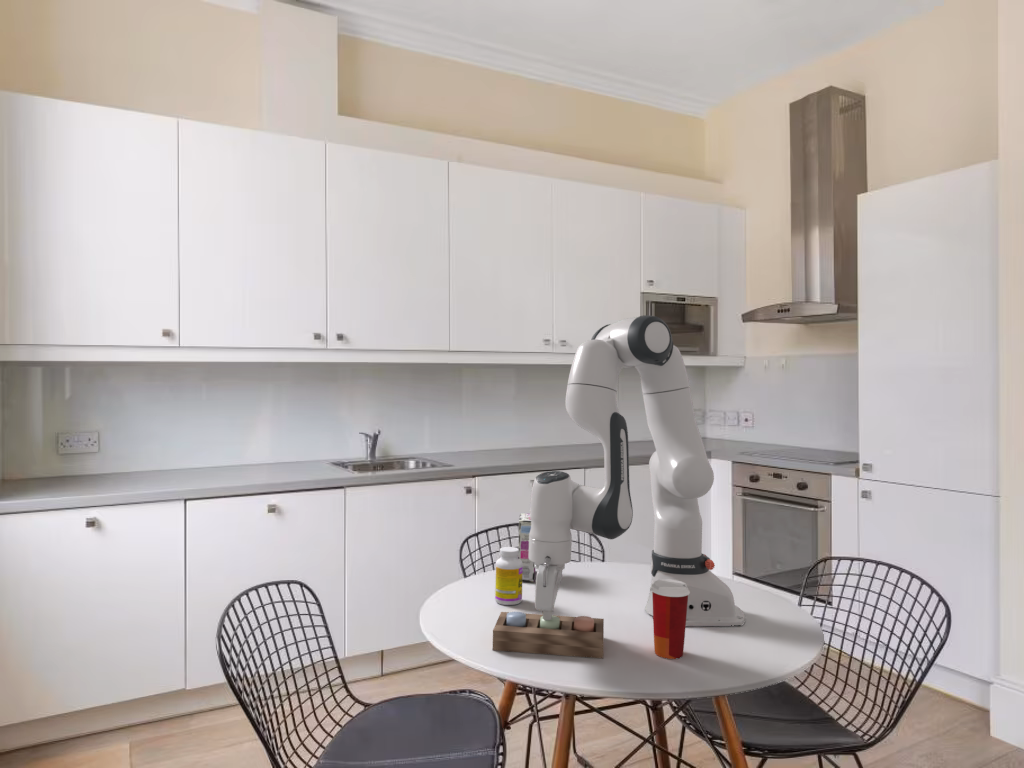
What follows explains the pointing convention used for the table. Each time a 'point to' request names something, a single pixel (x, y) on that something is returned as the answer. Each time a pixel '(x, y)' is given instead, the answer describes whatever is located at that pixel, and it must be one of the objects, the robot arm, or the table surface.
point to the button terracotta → (584, 624)
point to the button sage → (550, 623)
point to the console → (549, 637)
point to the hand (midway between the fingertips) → (547, 617)
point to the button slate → (516, 619)
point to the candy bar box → (525, 548)
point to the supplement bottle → (508, 577)
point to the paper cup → (669, 617)
